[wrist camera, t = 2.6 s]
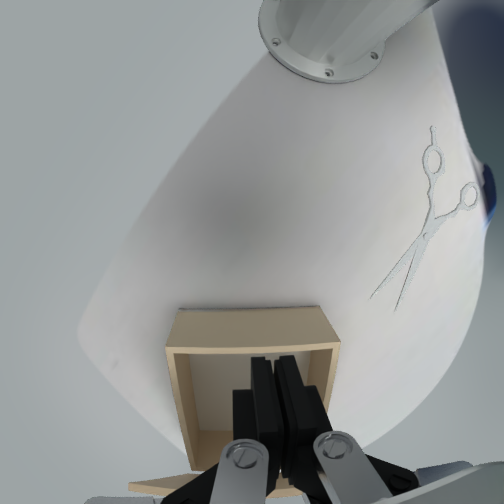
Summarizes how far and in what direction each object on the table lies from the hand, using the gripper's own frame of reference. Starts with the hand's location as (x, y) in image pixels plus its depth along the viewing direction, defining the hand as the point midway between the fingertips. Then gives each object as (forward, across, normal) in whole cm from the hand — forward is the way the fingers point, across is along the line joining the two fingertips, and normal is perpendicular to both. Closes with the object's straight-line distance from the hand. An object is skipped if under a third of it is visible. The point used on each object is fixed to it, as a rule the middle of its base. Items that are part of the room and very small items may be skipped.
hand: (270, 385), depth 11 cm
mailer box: (+18, 0, +14) cm, 22 cm away
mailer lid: (+5, 0, +15) cm, 16 cm away
